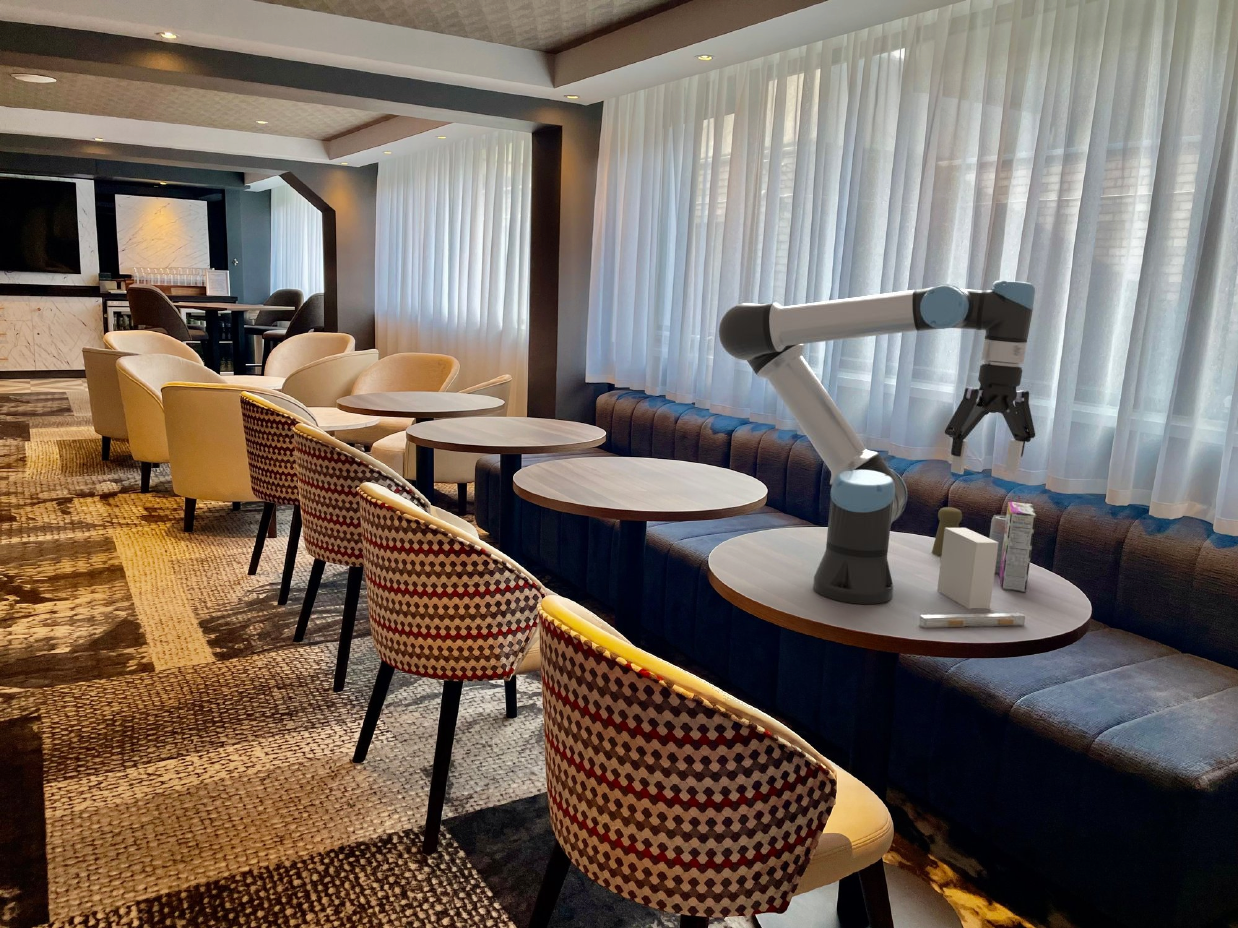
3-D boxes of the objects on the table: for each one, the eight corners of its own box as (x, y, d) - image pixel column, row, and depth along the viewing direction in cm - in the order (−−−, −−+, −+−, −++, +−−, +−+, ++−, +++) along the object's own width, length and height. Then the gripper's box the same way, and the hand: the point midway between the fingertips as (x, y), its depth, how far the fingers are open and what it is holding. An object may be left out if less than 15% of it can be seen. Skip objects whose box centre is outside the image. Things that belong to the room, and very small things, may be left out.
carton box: (968, 608, 171) (977, 542, 169) (937, 590, 182) (944, 527, 179) (990, 608, 172) (999, 542, 170) (958, 590, 183) (965, 527, 180)
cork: (929, 549, 213) (934, 504, 211) (955, 552, 212) (961, 506, 210) (934, 556, 207) (940, 509, 205) (961, 558, 206) (967, 512, 204)
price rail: (924, 628, 159) (925, 618, 158) (919, 624, 161) (920, 614, 160) (1025, 626, 163) (1026, 616, 162) (1018, 622, 165) (1020, 613, 164)
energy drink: (1007, 568, 201) (1014, 515, 198) (1015, 575, 195) (1022, 521, 193) (982, 566, 201) (989, 513, 199) (989, 573, 196) (996, 519, 194)
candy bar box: (997, 574, 195) (1007, 500, 192) (1022, 578, 193) (1033, 503, 190) (999, 589, 185) (1010, 511, 182) (1026, 593, 183) (1037, 514, 180)
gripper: (964, 363, 164) (946, 477, 168) (1066, 369, 173) (1047, 477, 177) (936, 358, 171) (919, 468, 175) (1036, 364, 180) (1018, 469, 184)
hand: (984, 473), depth 176 cm, fingers open, 13 cm apart
